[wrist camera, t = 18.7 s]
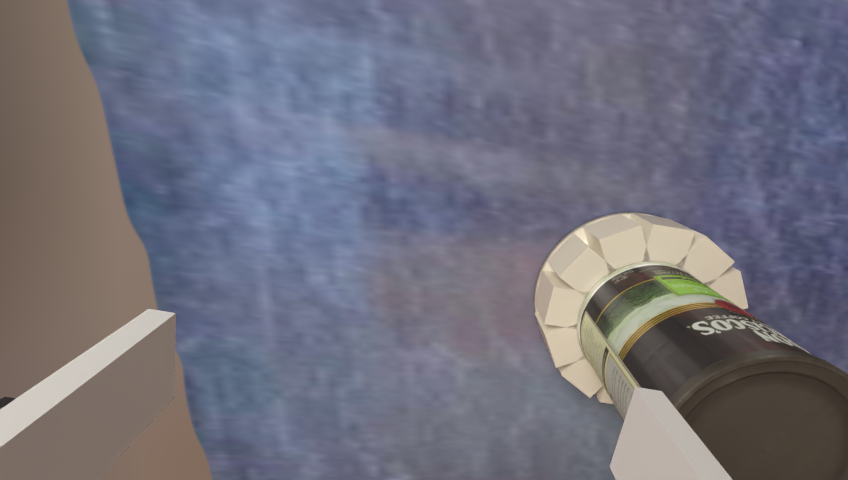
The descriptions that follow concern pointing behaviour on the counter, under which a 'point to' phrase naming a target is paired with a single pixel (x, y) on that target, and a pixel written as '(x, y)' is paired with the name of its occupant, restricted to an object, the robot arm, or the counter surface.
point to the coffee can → (717, 373)
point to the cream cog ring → (601, 255)
